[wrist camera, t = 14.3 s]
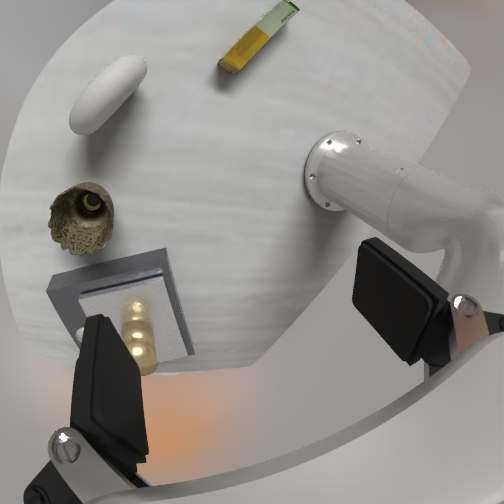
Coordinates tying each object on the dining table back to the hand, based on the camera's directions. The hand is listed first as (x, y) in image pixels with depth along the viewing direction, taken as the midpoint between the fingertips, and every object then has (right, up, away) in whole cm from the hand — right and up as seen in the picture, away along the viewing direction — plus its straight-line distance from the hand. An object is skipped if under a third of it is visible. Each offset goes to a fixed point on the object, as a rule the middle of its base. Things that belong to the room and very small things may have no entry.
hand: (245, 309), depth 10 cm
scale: (-19, -7, +30) cm, 36 cm away
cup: (-20, +9, +21) cm, 30 cm away
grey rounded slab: (-16, +20, +16) cm, 30 cm away
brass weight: (-16, -9, +26) cm, 32 cm away
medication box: (0, +29, +18) cm, 34 cm away
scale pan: (-16, -9, +27) cm, 33 cm away
